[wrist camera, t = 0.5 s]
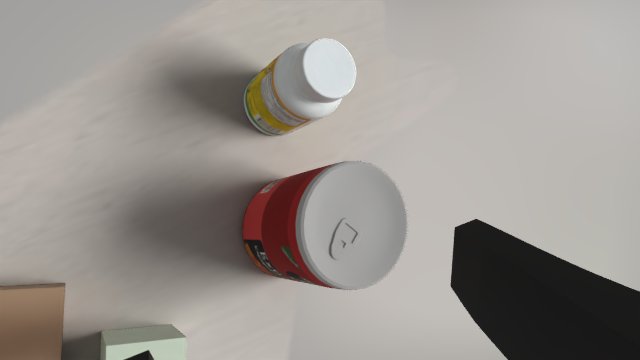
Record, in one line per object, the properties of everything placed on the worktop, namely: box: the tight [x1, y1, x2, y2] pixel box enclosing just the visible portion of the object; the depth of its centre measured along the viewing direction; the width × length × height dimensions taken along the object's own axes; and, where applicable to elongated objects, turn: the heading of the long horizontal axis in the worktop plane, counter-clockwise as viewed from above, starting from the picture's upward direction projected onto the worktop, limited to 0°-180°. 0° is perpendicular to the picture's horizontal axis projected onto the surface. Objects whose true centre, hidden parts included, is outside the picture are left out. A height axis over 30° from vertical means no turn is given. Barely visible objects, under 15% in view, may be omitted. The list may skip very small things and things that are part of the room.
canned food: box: [243, 161, 408, 290], centre depth 34 cm, size 8×8×11 cm
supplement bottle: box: [244, 38, 356, 136], centre depth 35 cm, size 5×5×10 cm
